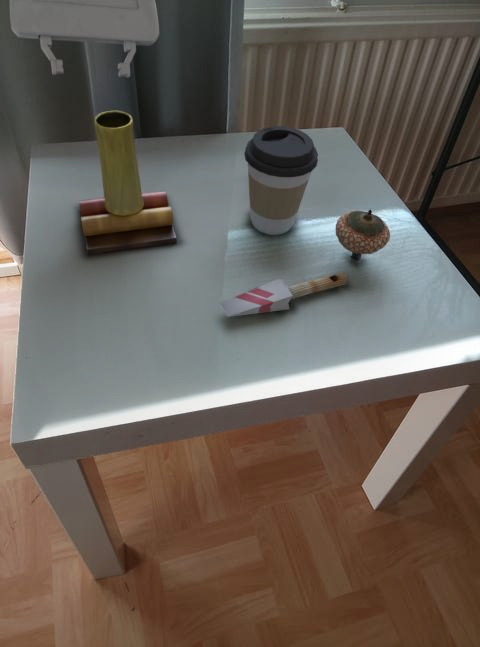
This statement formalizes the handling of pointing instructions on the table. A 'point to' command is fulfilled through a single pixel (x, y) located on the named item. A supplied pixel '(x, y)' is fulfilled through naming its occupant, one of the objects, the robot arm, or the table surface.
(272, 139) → the coffee cup
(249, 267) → the table surface
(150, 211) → the rod rack
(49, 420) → the table surface
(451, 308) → the table surface
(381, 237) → the acorn
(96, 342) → the table surface
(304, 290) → the sheathed knife
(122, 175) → the vase
